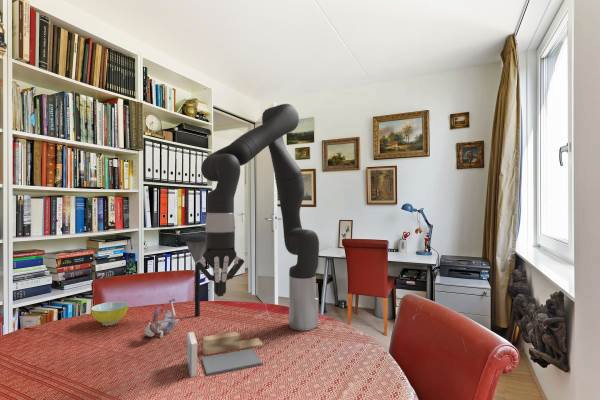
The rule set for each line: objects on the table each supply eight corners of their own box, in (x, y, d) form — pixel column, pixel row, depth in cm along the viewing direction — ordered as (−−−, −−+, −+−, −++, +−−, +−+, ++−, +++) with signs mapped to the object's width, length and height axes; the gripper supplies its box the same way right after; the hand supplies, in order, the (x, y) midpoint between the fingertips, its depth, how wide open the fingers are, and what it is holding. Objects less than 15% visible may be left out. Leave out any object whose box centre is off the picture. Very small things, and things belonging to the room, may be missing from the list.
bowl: (127, 315, 125) (127, 299, 125) (129, 325, 115) (129, 307, 115) (91, 321, 119) (91, 304, 119) (90, 332, 109) (90, 313, 110)
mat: (252, 350, 96) (252, 348, 96) (261, 364, 88) (261, 362, 88) (202, 359, 90) (202, 357, 90) (206, 375, 82) (206, 373, 82)
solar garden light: (189, 310, 132) (189, 234, 132) (219, 311, 130) (219, 234, 131) (173, 320, 120) (174, 237, 120) (206, 322, 118) (206, 237, 119)
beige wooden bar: (258, 339, 104) (258, 326, 104) (263, 346, 99) (263, 332, 99) (202, 349, 97) (202, 335, 97) (204, 356, 92) (204, 342, 92)
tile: (193, 361, 89) (193, 331, 89) (197, 375, 82) (197, 343, 82) (187, 362, 89) (187, 332, 89) (190, 377, 81) (190, 344, 81)
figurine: (182, 337, 113) (156, 349, 98) (159, 330, 115) (130, 340, 100) (191, 303, 115) (167, 310, 100) (168, 296, 116) (141, 302, 102)
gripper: (241, 228, 95) (241, 289, 94) (192, 229, 89) (192, 294, 89) (248, 230, 88) (248, 296, 87) (195, 231, 82) (195, 302, 82)
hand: (219, 295), depth 88 cm, fingers closed
